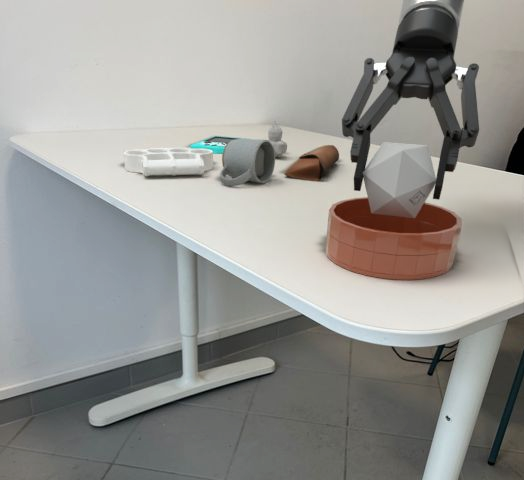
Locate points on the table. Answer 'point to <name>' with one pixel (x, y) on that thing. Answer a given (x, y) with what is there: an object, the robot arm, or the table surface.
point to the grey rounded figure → (277, 140)
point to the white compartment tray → (168, 161)
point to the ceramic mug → (247, 161)
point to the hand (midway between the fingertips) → (396, 188)
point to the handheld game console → (214, 144)
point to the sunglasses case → (314, 163)
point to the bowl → (392, 240)
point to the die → (399, 179)
